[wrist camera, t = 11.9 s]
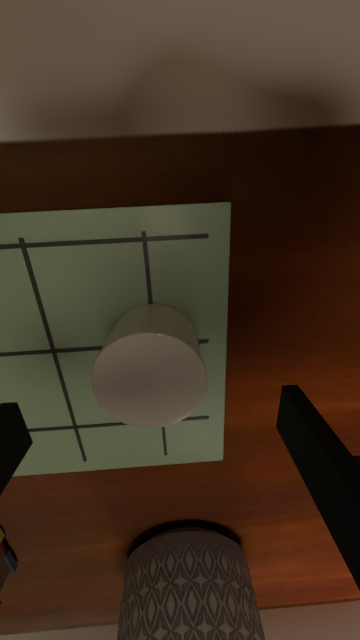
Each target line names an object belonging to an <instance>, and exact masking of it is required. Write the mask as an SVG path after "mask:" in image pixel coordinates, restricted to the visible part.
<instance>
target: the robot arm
mask: <svg viewBox="0 0 360 640" xmlns="http://www.w3.org/2000/svg"><path fill="white" fill-rule="evenodd" d="M276 428H277V430H278V432H279V434H280V435H281V437H282V439H283V441H284V443H285V445H286V447H287V449H288V451H289V453H290V455H291V457H292V459H293V461H294V463H295V465H296V467H297V469H298V471H299V473H300V475H301V477H302V479H303V480H304V482H305V484H306V486H307V488H308V490H309V492H310V494H311V496H312V498H313V500H314V502H315V504H316V506H317V508H318V510H319V512H320V514H321V516H322V518H323V520H324V522H325V524H326V525H327V527H328V529H329V531H330V533H331V535H332V537H333V539H334V541H335V543H336V545H337V547H338V549H339V551H340V553H341V555H342V557H343V559H344V561H345V563H346V565H347V567H348V569H349V570H350V572H351V574H352V576H353V578H354V580H355V582H356V584H357V586H358V588H359V590H360V456H352V455H351V453H350V452H349V451H348V450H347V448H346V447H345V446H344V444H343V443H342V442H341V441H340V439H339V438H338V437H337V435H336V434H335V433H334V431H333V430H332V429H331V428H330V426H329V425H328V424H327V422H326V421H325V420H324V419H323V417H322V416H321V415H320V413H319V412H318V411H317V409H316V408H315V407H314V406H313V404H312V403H311V402H310V400H309V399H308V398H307V397H306V395H305V394H304V393H303V391H302V390H301V389H300V387H299V386H298V385H286V386H282V391H281V398H280V404H279V411H278V418H277V425H276ZM32 444H33V441H32V438H31V436H30V433H29V431H28V428H27V426H26V423H25V421H24V418H23V416H22V413H21V411H20V408H19V406H18V403H17V402H10V403H1V404H0V495H1V493H2V492H3V490H4V489H5V487H6V485H7V484H8V482H9V481H10V479H11V477H12V476H13V474H14V473H15V471H16V469H17V468H18V466H19V465H20V463H21V461H22V460H23V458H24V457H25V455H26V453H27V452H28V450H29V448H30V447H31V445H32Z"/></svg>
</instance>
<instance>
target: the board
mask: <svg viewBox="0 0 360 640" xmlns="http://www.w3.org/2000/svg"><path fill="white" fill-rule="evenodd" d="M230 222H231V202H218V203H198V204H178V205H158V206H137V207H117V208H97V209H77V210H57V211H37V212H16V213H0V404H1V403H10V402H17V403H18V406H19V408H20V411H21V413H22V416H23V418H24V421H25V423H26V426H27V428H28V431H29V433H30V436H31V438H32V441H33V444H32V445H31V447H30V448H29V450H28V452H27V453H26V455H25V457H24V458H23V460H22V461H21V463H20V465H19V466H18V468H17V469H16V471H15V473H14V474H13V476H26V475H39V474H52V473H65V472H77V471H90V470H103V469H116V468H129V467H142V466H154V465H167V464H180V463H193V462H206V461H219V460H223V442H224V411H225V379H226V348H227V316H228V285H229V253H230ZM144 304H162V305H166V306H170V307H172V308H174V309H176V310H178V311H180V312H181V313H182V314H184V315H185V316H186V317H187V318H188V319H189V320H190V322H191V323H192V324H193V326H194V328H195V330H196V333H197V336H198V340H199V344H200V348H201V352H202V356H203V360H204V364H205V367H206V372H207V379H208V382H207V389H206V393H205V396H204V398H203V400H202V402H201V403H200V405H199V406H198V407H197V409H196V410H195V411H194V412H193V413H192V414H190V415H189V416H188V417H186V418H185V419H183V420H181V421H179V422H177V423H175V424H172V425H169V426H165V427H160V428H140V427H134V426H131V425H127V424H125V423H122V422H120V421H118V420H116V419H114V418H113V417H111V416H110V415H109V414H107V413H106V412H105V411H104V410H103V409H102V408H101V406H100V405H99V404H98V402H97V401H96V399H95V397H94V395H93V391H92V388H91V371H92V367H93V365H94V362H95V360H96V358H97V356H98V354H99V352H100V350H101V349H102V347H103V345H104V343H105V341H106V339H107V337H108V335H109V333H110V331H111V329H112V327H113V326H114V324H115V322H116V321H117V320H118V318H119V317H120V316H121V315H123V314H124V313H125V312H127V311H128V310H130V309H132V308H134V307H137V306H140V305H144ZM13 476H12V477H13Z"/></svg>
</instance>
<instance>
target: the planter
mask: <svg viewBox="0 0 360 640" xmlns="http://www.w3.org/2000/svg"><path fill="white" fill-rule="evenodd" d="M117 640H265V637H264V632H263V628H262V624H261V620H260V615H259V611H258V607H257V603H256V598H255V594H254V590H253V585H252V581H251V577H250V573H249V568H248V564H247V560H246V555H245V553H244V551H243V549H242V548H241V547H240V545H238V544H237V543H236V542H235V541H233V540H231V539H230V538H228V537H225V536H223V535H221V534H220V533H218V532H215V531H213V530H209V529H205V528H198V527H184V528H176V529H171V530H168V531H165V532H162V533H159V534H157V535H155V536H154V537H152V538H151V539H149V540H148V541H147V542H145V543H144V544H142V545H141V546H139V547H138V548H137V549H135V550H134V551H133V552H132V554H131V555H130V556H129V558H128V560H127V562H126V568H125V577H124V585H123V593H122V601H121V610H120V618H119V626H118V635H117Z"/></svg>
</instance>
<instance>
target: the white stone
mask: <svg viewBox="0 0 360 640" xmlns="http://www.w3.org/2000/svg"><path fill="white" fill-rule="evenodd" d="M207 382H208V379H207V372H206V367H205V364H204V360H203V356H202V352H201V348H200V344H199V340H198V336H197V333H196V330H195V328H194V326H193V324H192V323H191V322H190V320H189V319H188V318H187V317H186V316H185V315H184V314H182V313H181V312H180V311H178V310H176V309H174V308H172V307H170V306H166V305H162V304H144V305H140V306H137V307H134V308H132V309H130V310H128V311H127V312H125V313H124V314H123V315H121V316H120V317H119V318H118V320H117V321H116V322H115V324H114V326H113V327H112V329H111V331H110V333H109V335H108V337H107V339H106V341H105V343H104V345H103V347H102V349H101V350H100V352H99V354H98V356H97V358H96V360H95V362H94V365H93V367H92V371H91V388H92V391H93V395H94V397H95V399H96V401H97V402H98V404H99V405H100V406H101V408H102V409H103V410H104V411H105V412H106V413H107V414H109V415H110V416H111V417H113V418H114V419H116V420H118V421H120V422H122V423H125V424H127V425H131V426H134V427H140V428H160V427H165V426H169V425H172V424H175V423H177V422H179V421H181V420H183V419H185V418H186V417H188V416H189V415H190V414H192V413H193V412H194V411H195V410H196V409H197V407H198V406H199V405H200V403H201V402H202V400H203V398H204V396H205V393H206V389H207Z"/></svg>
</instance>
